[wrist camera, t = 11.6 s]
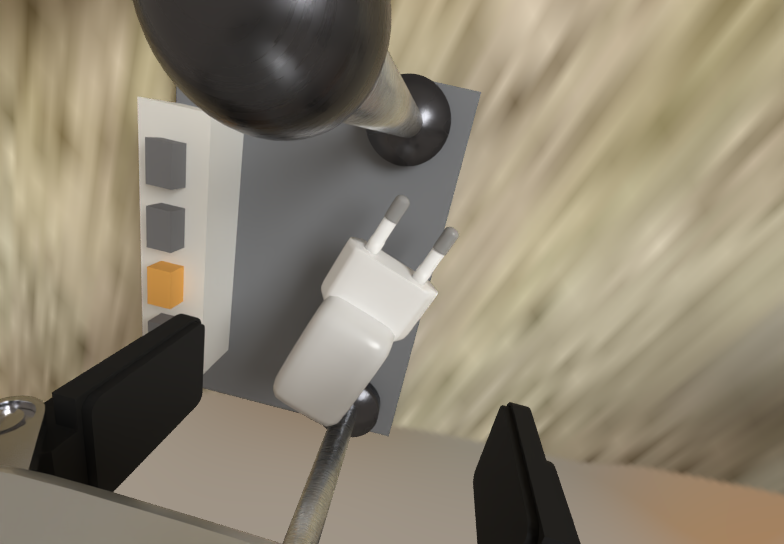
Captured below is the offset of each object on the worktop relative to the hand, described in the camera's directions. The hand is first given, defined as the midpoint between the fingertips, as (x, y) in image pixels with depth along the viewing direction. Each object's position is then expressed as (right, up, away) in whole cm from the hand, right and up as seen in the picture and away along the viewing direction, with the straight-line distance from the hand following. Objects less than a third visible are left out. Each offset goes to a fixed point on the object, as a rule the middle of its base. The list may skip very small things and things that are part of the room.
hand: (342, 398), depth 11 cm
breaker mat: (-4, +5, +11) cm, 12 cm away
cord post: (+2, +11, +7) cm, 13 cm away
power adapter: (+1, +3, +10) cm, 11 cm away
